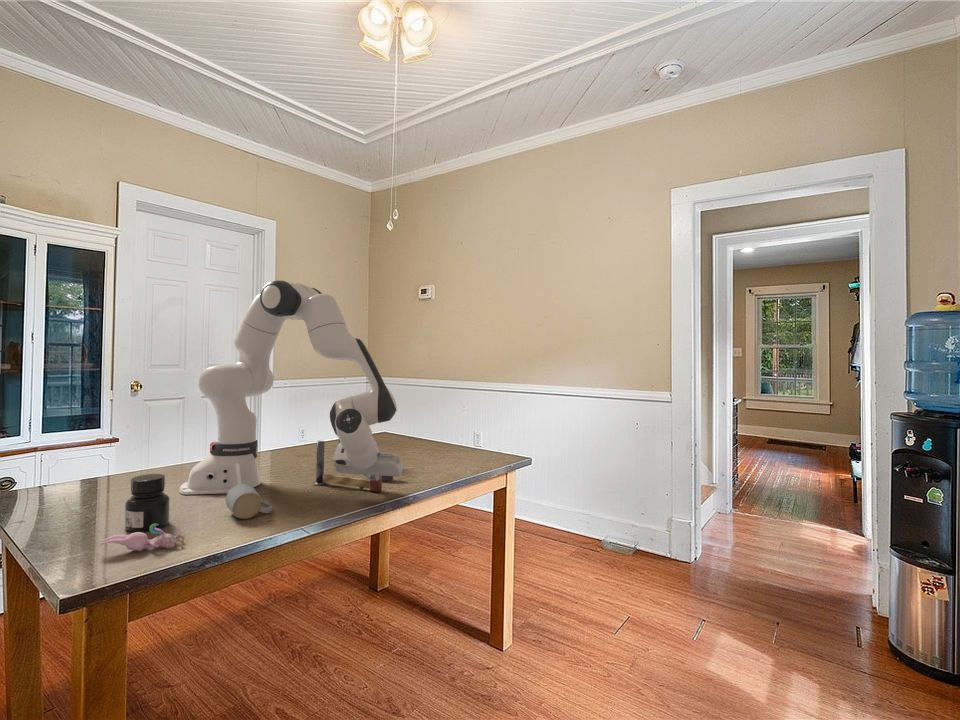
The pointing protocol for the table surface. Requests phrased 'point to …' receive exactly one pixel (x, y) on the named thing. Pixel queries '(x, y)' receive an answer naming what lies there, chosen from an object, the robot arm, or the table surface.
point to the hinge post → (320, 464)
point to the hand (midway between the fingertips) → (374, 478)
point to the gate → (354, 482)
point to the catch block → (387, 478)
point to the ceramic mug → (245, 502)
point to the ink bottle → (147, 503)
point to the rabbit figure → (145, 539)
